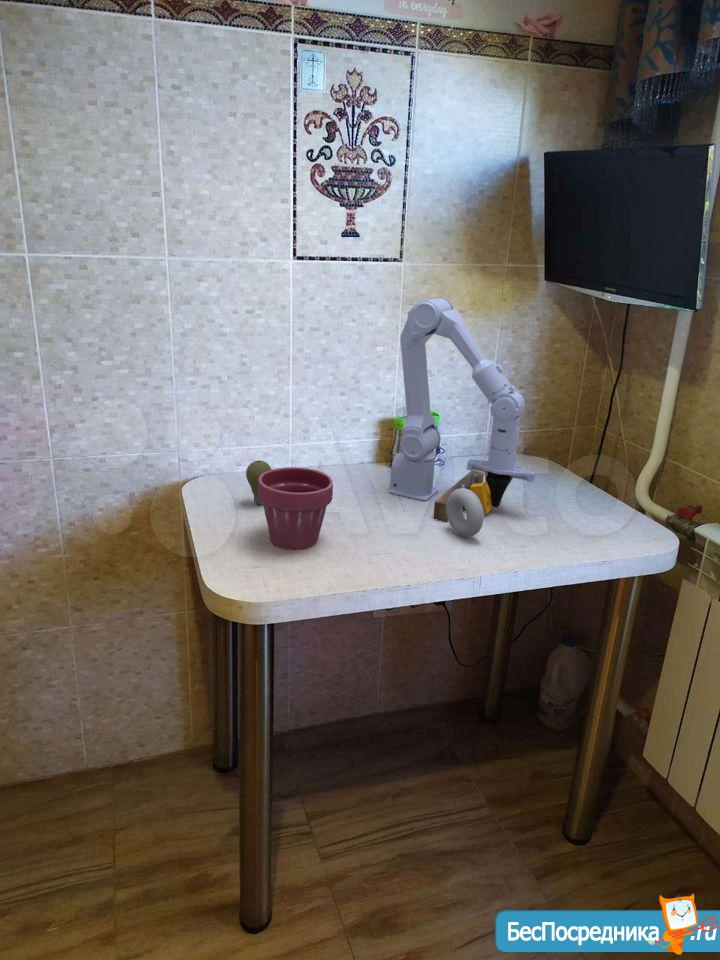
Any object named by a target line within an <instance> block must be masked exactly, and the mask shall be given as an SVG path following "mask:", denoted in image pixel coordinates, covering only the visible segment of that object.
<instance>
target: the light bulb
mask: <svg viewBox="0 0 720 960" xmlns="http://www.w3.org/2000/svg"><path fill="white" fill-rule="evenodd" d="M269 470H273V469H272V467H271V465H270V464H269V463H268V462H266V461H264V460H260V459H259V460H255V461H253V462H251V463H250V464H249V465H248V466H247V468H246V473H245V477H246V480H247V482H248V484H249V486H250V488H251V493H252V494H253V503H255V504H256V505H257V506H263V503H262V502H261V501H260V500H259V499H258V479H259V476H260V475H261V474H263V473H264V472H266V471H269Z"/></svg>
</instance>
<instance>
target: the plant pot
mask: <svg viewBox="0 0 720 960" xmlns="http://www.w3.org/2000/svg"><path fill="white" fill-rule="evenodd" d="M333 491H334V481H333V478H331V476H330V475H328V474H327V473H325V472H323V471H320V470H317V469H313V468H307V467H299V466H298V467H297V466H296V467H295V466H289V467H280V468H279V467H277V468H273V469H272V470H269V471H266V472H264V473H263V474H261V475H260V476H259V479H258V499H259V500H260V501H261V502H262V503H263V504H262V507H263V510H264V516H265V520H266V524H267V528H268V531H269V532H268V533H269V538H270V542H271V543H272V545H274V546H275V547H277V548H279V549H282V550H286V551H287V550H288V551H302V550H307V549H309V548H312V547H314V546H315V545H316V544H317V543H318V539H319V537H320V532H321V529H322V525H323V522H324V518H325V514H326V509H327V506H328V505H329V504H331V502H332V501H333V497H334V496H333V495H334V492H333Z"/></svg>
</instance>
